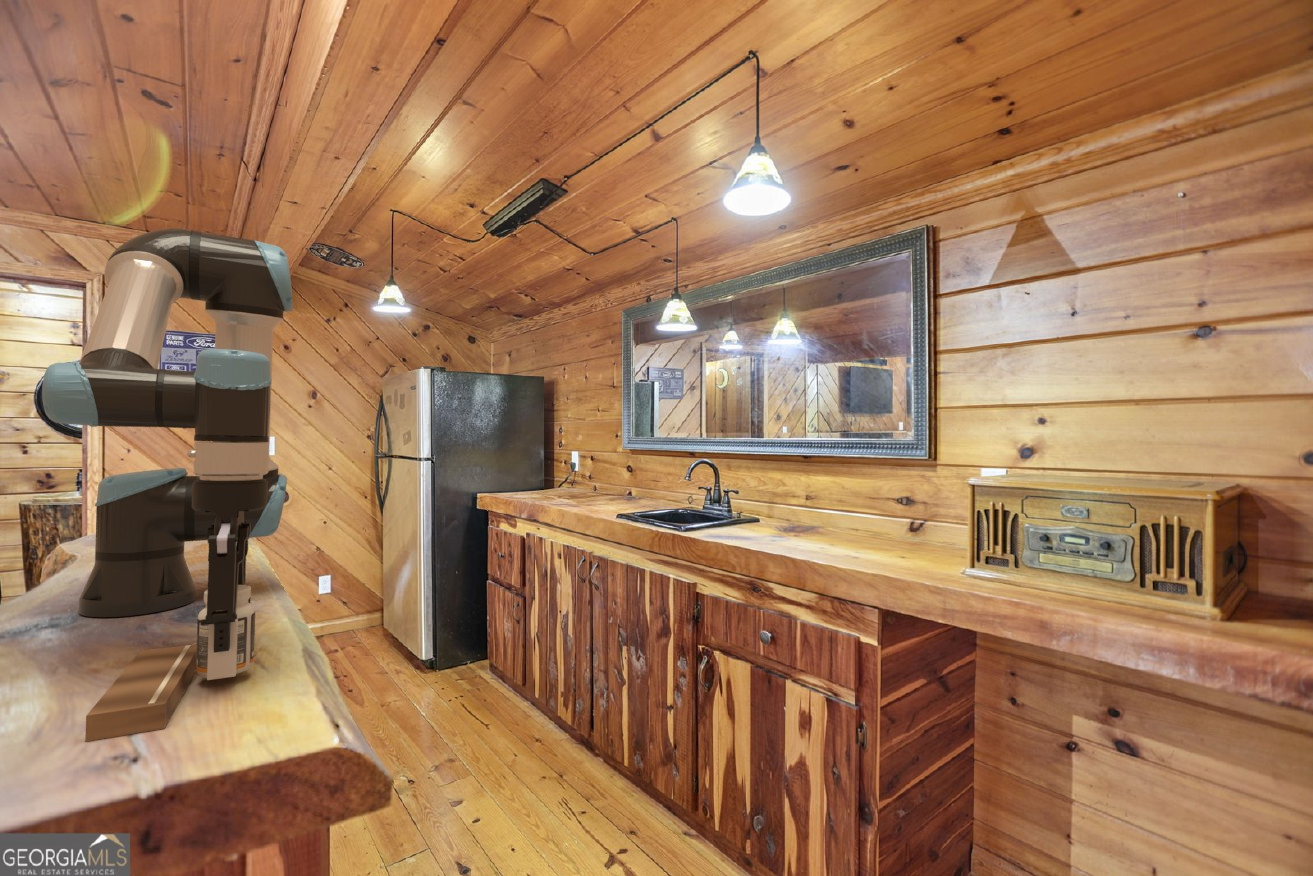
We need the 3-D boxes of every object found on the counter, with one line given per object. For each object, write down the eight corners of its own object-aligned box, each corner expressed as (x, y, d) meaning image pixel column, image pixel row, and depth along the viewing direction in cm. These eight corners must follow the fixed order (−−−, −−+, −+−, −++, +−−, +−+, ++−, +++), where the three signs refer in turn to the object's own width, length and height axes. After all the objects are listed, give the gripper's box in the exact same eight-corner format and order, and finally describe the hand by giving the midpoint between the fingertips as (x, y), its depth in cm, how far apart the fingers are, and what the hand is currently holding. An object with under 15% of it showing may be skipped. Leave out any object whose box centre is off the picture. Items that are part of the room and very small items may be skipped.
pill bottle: (215, 662, 76) (218, 583, 76) (263, 661, 76) (265, 583, 76) (184, 680, 70) (186, 594, 70) (236, 679, 70) (238, 594, 71)
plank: (140, 670, 75) (141, 649, 75) (199, 662, 78) (200, 642, 78) (85, 741, 58) (86, 714, 58) (164, 728, 61) (165, 702, 61)
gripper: (206, 473, 80) (200, 648, 79) (176, 483, 63) (169, 703, 63) (273, 473, 83) (268, 640, 83) (261, 482, 67) (255, 690, 67)
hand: (225, 667), depth 73 cm, fingers closed on pill bottle, 6 cm apart
